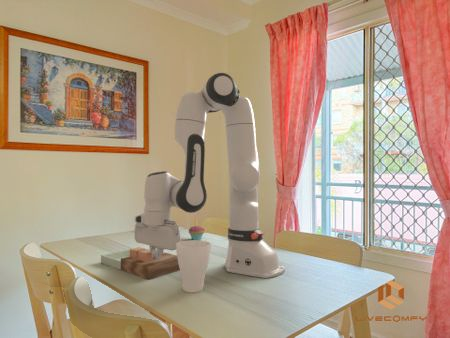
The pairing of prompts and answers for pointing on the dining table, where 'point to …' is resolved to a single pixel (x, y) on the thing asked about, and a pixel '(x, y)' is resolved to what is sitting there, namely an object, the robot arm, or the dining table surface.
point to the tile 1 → (135, 252)
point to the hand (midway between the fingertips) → (156, 259)
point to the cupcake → (196, 232)
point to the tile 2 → (145, 255)
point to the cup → (193, 263)
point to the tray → (114, 258)
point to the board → (151, 266)
